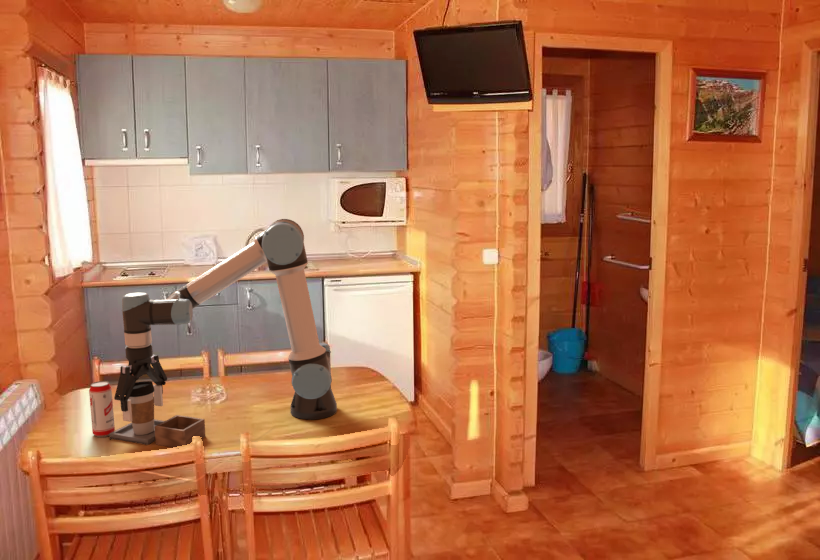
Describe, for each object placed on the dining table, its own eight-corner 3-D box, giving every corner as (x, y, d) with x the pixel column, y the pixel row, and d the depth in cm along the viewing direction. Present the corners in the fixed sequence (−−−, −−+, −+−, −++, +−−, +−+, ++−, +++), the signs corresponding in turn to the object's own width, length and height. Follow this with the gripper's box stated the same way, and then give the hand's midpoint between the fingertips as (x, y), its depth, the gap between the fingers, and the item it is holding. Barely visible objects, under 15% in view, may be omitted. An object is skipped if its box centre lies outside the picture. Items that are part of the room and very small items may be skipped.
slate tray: (178, 429, 225) (178, 423, 224) (147, 446, 212) (147, 439, 211) (142, 423, 230) (141, 417, 229) (109, 439, 217) (109, 433, 216)
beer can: (118, 429, 224) (114, 380, 221) (110, 437, 218) (106, 386, 215) (97, 430, 224) (93, 380, 221) (89, 438, 218) (85, 387, 215)
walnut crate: (205, 438, 218) (204, 419, 217) (184, 450, 209) (183, 431, 207) (178, 433, 221) (176, 414, 220) (155, 446, 212) (154, 426, 211)
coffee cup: (149, 437, 215) (143, 388, 213) (123, 436, 217) (117, 388, 214) (164, 426, 223) (159, 379, 221) (139, 425, 225) (134, 378, 222)
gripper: (156, 333, 228) (161, 398, 232) (97, 354, 205) (103, 426, 209) (176, 335, 226) (180, 401, 230) (118, 357, 203) (124, 429, 207)
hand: (143, 413), depth 219 cm, fingers open, 13 cm apart
